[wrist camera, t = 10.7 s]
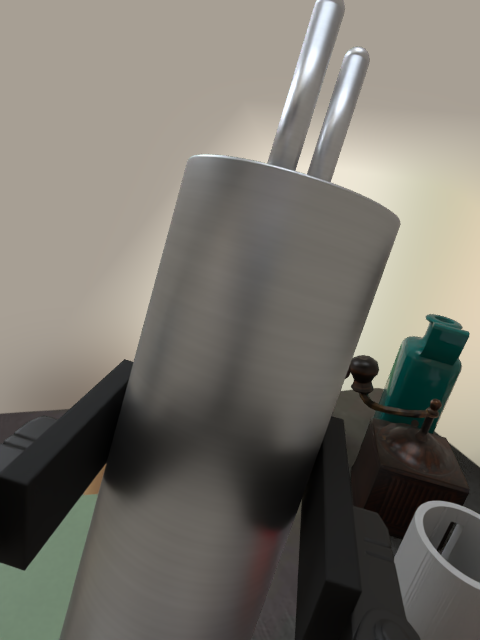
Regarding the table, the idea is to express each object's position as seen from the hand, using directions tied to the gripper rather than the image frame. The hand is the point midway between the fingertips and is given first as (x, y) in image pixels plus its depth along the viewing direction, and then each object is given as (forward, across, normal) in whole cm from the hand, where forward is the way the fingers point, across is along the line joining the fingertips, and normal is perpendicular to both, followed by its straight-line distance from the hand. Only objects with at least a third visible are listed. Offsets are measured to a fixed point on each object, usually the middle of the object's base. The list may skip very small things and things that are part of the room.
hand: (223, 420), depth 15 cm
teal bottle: (+50, +25, -28) cm, 63 cm away
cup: (+16, +21, -28) cm, 39 cm away
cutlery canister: (-4, -1, -12) cm, 13 cm away
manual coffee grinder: (+33, +19, -28) cm, 47 cm away
